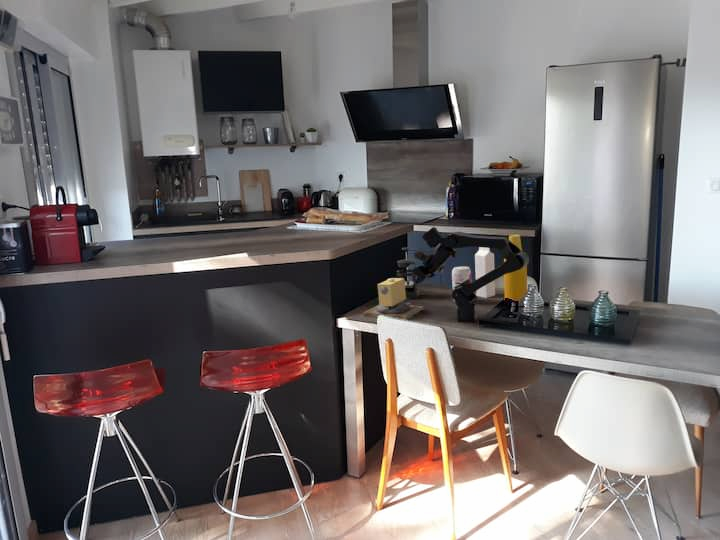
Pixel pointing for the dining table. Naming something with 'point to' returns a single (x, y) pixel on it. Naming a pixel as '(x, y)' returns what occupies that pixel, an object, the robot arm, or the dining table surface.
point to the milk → (484, 271)
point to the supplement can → (460, 275)
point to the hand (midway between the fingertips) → (416, 282)
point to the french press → (399, 274)
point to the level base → (401, 315)
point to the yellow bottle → (516, 277)
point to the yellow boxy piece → (391, 291)
